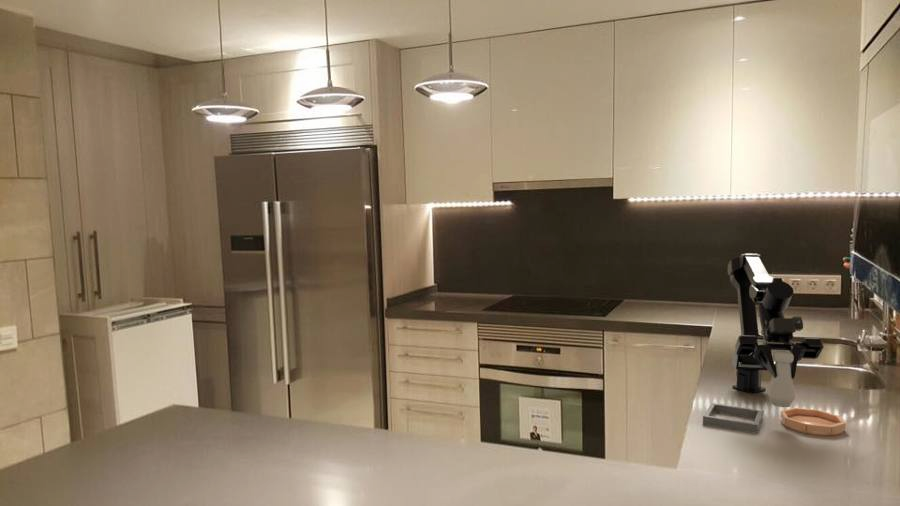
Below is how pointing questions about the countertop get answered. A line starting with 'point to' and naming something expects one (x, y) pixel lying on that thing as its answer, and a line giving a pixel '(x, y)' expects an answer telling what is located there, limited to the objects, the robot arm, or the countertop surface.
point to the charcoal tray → (730, 423)
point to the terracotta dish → (812, 421)
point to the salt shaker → (782, 380)
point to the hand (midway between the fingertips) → (784, 377)
